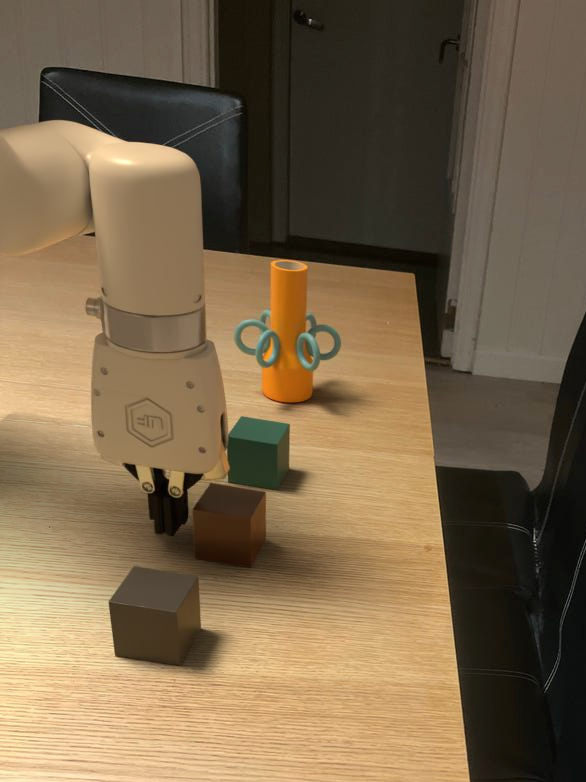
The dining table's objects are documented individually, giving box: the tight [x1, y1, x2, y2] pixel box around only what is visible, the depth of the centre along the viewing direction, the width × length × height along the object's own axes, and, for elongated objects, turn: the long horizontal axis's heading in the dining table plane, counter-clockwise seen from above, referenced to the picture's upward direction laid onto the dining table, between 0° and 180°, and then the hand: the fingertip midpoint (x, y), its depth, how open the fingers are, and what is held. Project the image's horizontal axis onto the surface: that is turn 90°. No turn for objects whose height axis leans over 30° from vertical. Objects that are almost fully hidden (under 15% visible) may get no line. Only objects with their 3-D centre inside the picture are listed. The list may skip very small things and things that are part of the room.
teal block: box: [226, 416, 291, 490], centre depth 95 cm, size 5×5×5 cm
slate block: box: [107, 565, 202, 667], centre depth 71 cm, size 5×5×5 cm
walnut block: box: [192, 482, 267, 569], centre depth 83 cm, size 5×5×5 cm
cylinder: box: [233, 259, 342, 403], centre depth 109 cm, size 12×10×15 cm
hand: (170, 527), depth 84 cm, fingers closed
